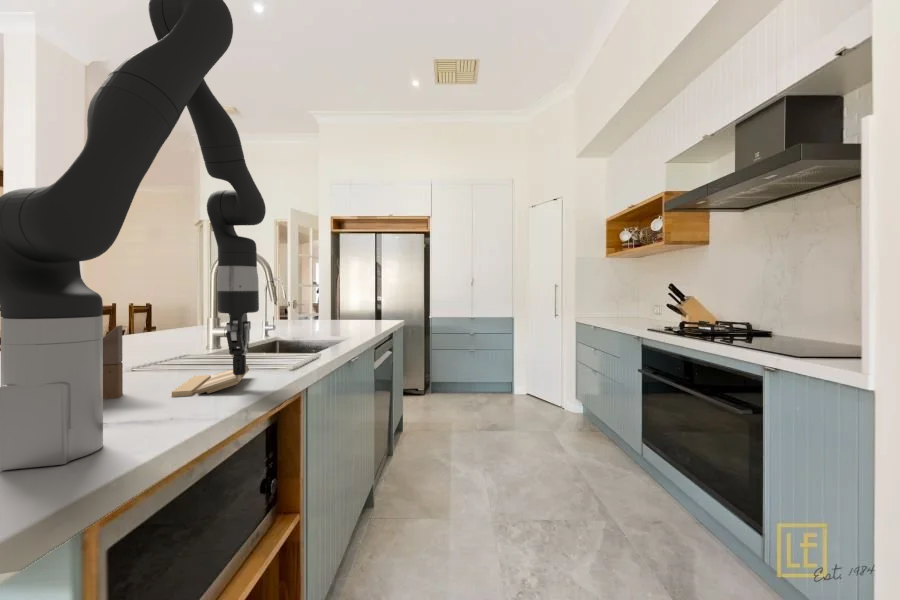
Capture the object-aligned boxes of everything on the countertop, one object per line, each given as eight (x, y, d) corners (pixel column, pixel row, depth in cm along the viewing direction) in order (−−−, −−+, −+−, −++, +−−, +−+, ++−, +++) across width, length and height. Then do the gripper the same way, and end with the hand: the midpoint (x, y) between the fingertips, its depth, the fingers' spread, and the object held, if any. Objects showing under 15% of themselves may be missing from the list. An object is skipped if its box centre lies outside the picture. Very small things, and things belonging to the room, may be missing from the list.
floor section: (239, 397, 81) (239, 388, 81) (170, 401, 78) (170, 392, 78) (251, 380, 97) (251, 372, 97) (195, 383, 94) (195, 375, 94)
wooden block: (118, 402, 77) (118, 305, 77) (40, 410, 72) (39, 305, 72) (123, 398, 80) (122, 304, 80) (48, 405, 75) (47, 305, 75)
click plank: (237, 384, 82) (235, 377, 81) (198, 396, 79) (196, 390, 79) (249, 369, 97) (247, 364, 97) (216, 380, 95) (214, 374, 95)
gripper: (254, 289, 79) (255, 379, 80) (262, 289, 92) (263, 367, 92) (209, 289, 77) (211, 382, 78) (224, 289, 90) (225, 369, 90)
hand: (239, 374), depth 85 cm, fingers closed
